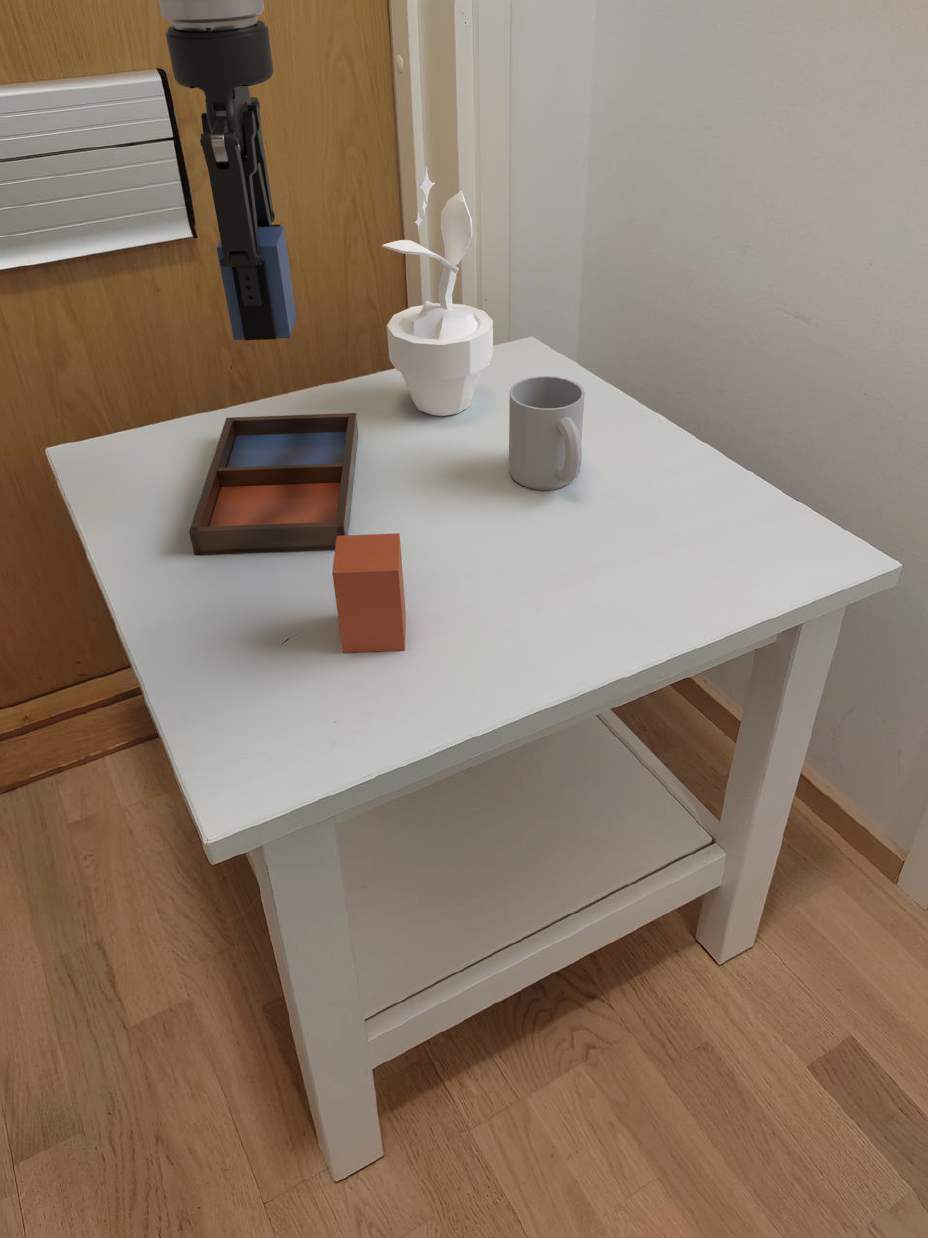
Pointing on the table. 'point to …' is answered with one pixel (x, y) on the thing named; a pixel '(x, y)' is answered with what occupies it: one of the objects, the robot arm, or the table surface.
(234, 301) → the blue bar
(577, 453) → the cup
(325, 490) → the tray
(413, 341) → the potted plant
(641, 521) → the table surface
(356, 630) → the terracotta bar
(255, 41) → the robot arm
